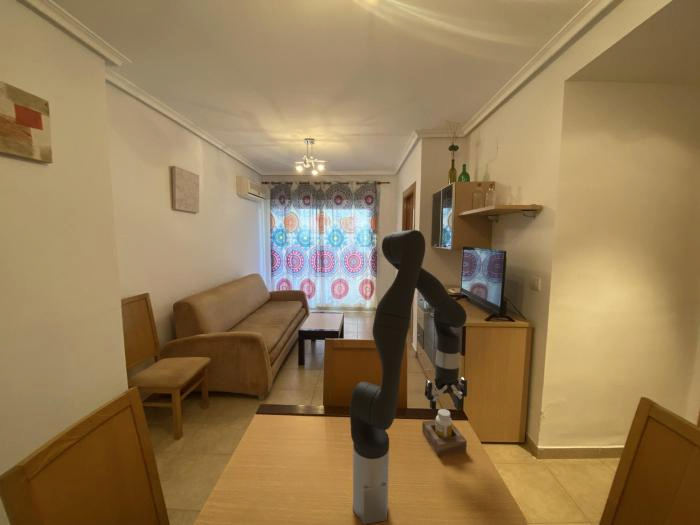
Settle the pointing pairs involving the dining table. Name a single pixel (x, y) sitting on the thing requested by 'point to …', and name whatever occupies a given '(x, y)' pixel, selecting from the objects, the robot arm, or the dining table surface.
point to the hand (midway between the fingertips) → (445, 409)
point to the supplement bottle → (443, 424)
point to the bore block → (444, 440)
